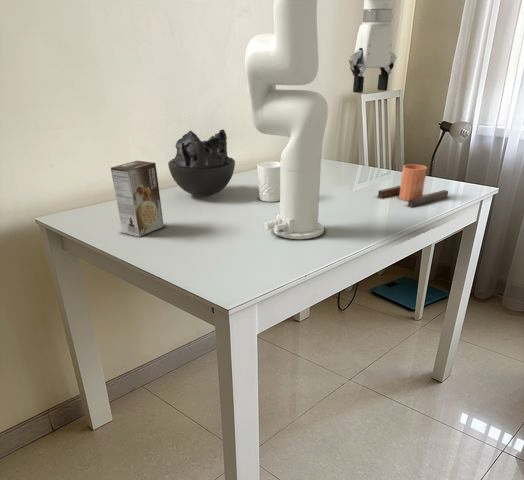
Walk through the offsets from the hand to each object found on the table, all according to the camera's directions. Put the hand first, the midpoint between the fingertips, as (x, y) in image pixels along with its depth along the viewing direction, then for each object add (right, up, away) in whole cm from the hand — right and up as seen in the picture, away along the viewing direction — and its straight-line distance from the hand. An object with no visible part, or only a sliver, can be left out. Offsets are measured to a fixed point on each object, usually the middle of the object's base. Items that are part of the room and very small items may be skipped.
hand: (370, 91), depth 139 cm
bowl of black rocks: (-49, -25, +15) cm, 57 cm away
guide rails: (+15, -27, +11) cm, 32 cm away
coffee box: (-61, -42, -12) cm, 75 cm away
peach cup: (+14, -27, +10) cm, 32 cm away
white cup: (-28, -27, +11) cm, 40 cm away
